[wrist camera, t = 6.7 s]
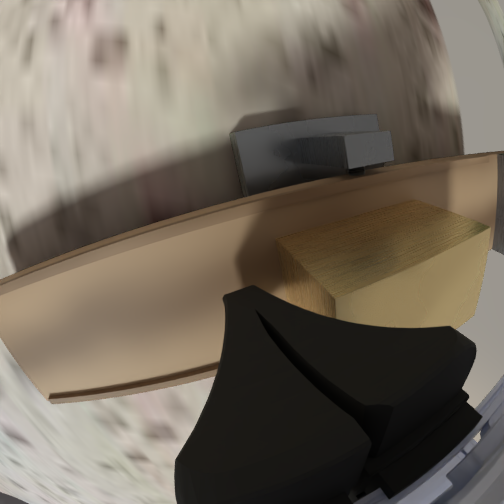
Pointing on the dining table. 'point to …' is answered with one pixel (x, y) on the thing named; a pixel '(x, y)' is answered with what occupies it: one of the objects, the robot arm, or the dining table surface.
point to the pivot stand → (308, 151)
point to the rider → (389, 267)
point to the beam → (200, 277)
